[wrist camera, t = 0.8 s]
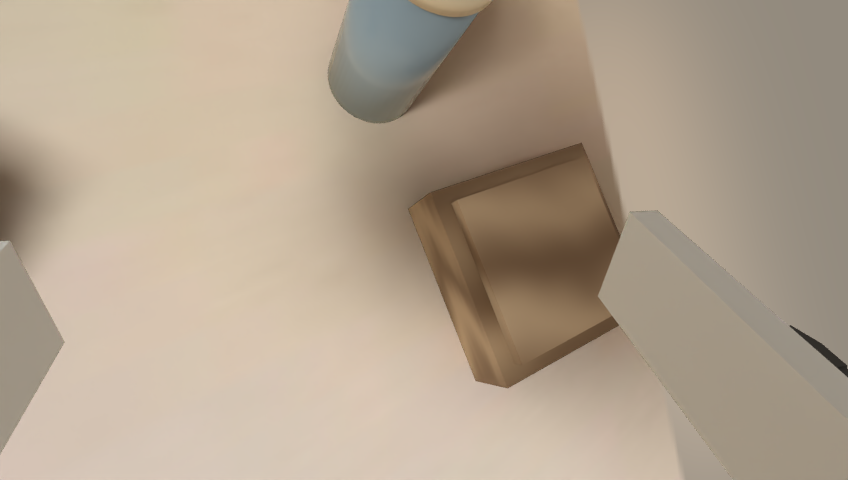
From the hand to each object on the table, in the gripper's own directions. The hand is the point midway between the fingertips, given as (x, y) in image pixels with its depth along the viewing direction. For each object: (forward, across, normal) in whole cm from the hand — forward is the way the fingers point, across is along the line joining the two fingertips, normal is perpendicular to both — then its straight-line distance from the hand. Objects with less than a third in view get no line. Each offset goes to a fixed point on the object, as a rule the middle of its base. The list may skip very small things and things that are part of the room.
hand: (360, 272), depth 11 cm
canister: (+23, +3, -2) cm, 24 cm away
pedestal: (+16, +12, -13) cm, 23 cm away
